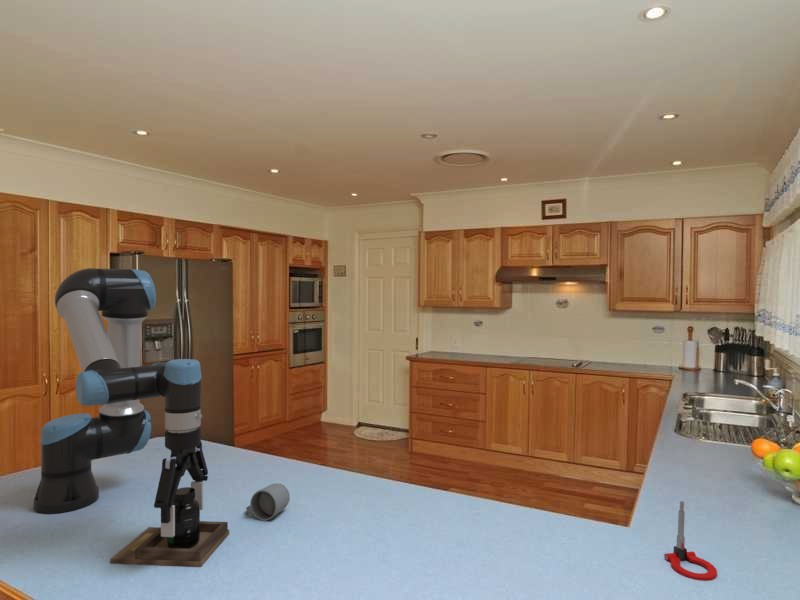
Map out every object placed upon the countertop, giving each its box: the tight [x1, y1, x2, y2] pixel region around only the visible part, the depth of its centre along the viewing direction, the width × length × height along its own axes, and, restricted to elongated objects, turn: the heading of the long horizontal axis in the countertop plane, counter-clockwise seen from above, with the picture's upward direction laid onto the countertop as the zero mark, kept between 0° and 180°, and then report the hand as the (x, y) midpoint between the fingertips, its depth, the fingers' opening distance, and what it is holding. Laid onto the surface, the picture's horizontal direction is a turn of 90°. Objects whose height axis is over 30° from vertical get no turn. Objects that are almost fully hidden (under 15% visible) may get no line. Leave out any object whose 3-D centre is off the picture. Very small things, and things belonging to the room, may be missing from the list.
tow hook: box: [663, 500, 718, 582], centre depth 109 cm, size 8×13×9 cm
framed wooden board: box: [109, 520, 230, 568], centre depth 118 cm, size 20×15×3 cm
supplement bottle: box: [167, 486, 201, 549], centre depth 118 cm, size 7×7×12 cm
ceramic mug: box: [246, 482, 290, 522], centre depth 137 cm, size 11×8×8 cm
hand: (183, 521), depth 118 cm, fingers open, 13 cm apart
